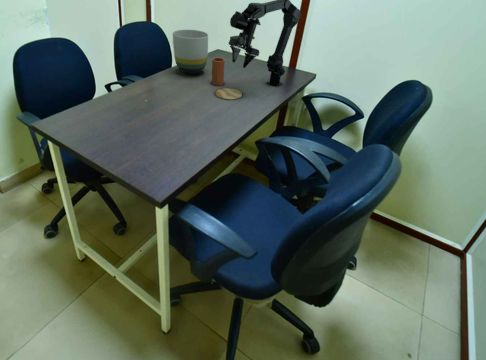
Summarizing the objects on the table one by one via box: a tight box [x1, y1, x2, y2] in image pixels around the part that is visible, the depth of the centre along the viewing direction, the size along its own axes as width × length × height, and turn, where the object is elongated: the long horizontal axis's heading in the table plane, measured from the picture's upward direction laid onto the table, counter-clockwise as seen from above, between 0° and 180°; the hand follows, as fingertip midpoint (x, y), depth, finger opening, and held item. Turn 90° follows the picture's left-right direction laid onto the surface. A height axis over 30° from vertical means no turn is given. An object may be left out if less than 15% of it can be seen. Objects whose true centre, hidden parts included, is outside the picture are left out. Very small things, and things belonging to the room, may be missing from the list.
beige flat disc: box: [215, 87, 243, 101], centre depth 157 cm, size 14×14×1 cm
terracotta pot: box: [211, 57, 226, 86], centre depth 164 cm, size 7×7×13 cm
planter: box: [172, 29, 209, 75], centre depth 172 cm, size 20×20×21 cm
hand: (238, 65), depth 152 cm, fingers open, 9 cm apart
